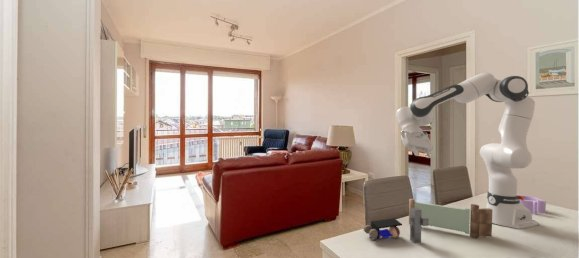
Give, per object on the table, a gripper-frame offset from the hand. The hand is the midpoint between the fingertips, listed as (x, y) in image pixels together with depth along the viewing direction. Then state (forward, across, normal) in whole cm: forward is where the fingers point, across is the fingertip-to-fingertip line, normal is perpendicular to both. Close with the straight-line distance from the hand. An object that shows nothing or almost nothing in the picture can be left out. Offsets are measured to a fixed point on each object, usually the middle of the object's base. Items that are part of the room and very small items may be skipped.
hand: (423, 156), depth 133 cm
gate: (+33, +2, +10) cm, 34 cm away
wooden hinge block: (+39, +12, -2) cm, 41 cm away
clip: (+26, +71, -2) cm, 75 cm away
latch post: (+38, -16, +9) cm, 43 cm away
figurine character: (+35, -26, +19) cm, 47 cm away
